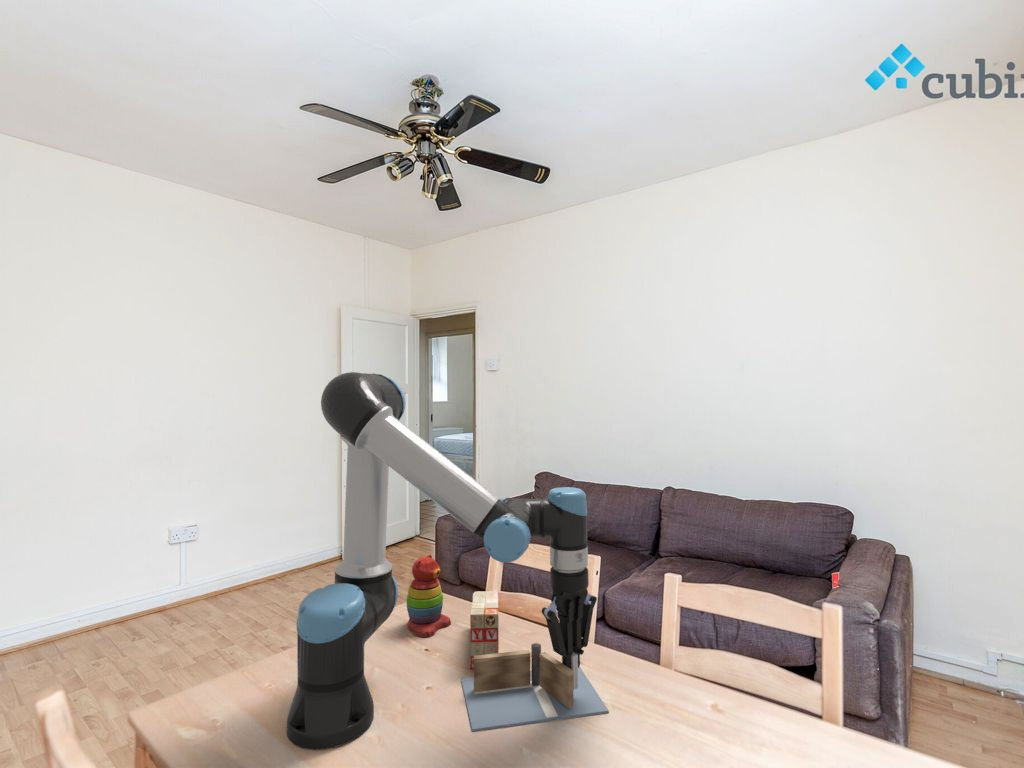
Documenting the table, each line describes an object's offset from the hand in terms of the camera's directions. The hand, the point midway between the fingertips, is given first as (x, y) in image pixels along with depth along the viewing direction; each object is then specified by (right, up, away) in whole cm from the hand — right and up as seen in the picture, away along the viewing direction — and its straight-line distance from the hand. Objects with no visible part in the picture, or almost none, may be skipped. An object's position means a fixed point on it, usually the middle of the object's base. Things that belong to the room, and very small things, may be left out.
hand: (571, 685), depth 105 cm
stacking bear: (-34, -3, +32) cm, 47 cm away
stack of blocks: (-18, -3, +22) cm, 28 cm away
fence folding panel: (-3, -2, -1) cm, 4 cm away
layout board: (-8, -2, +1) cm, 8 cm away
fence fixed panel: (-13, -2, +3) cm, 13 cm away
